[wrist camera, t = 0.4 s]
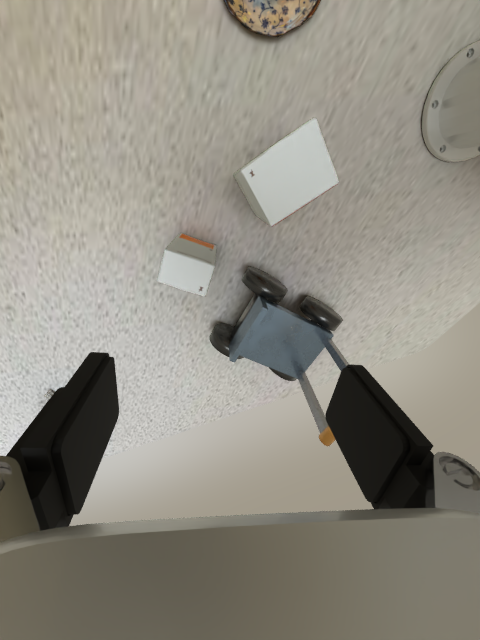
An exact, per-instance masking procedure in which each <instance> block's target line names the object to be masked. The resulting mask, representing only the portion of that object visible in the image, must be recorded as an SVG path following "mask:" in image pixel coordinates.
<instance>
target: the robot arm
mask: <svg viewBox="0 0 480 640" xmlns="http://www.w3.org/2000/svg"><path fill="white" fill-rule="evenodd" d="M422 132H423V138H424V141H425V144H426V146H427V148H428V149H429V151H430V152H431V153H432V154H433V155H434V156H435V157H436V158H438V159H440V160H442V161H447V162H459V161H466V160H469V159H472V158H475V157H477V156H479V155H480V40H478V41H476V42H474V43H472V44H470V45H469V46H467V47H466V48H464V49H462V50H461V51H460V52H458V53H457V54H456V55H455V56H454V57H453V58H451V60H450V61H449V62H448V63H447V64H446V65H445V66H444V68H443V69H442V70H441V72H440V73H439V75H438V76H437V78H436V79H435V81H434V83H433V85H432V87H431V89H430V91H429V93H428V96H427V99H426V102H425V106H424V110H423V115H422ZM118 415H119V405H118V394H117V384H116V373H115V363H114V358H113V357H109V354H108V353H98V352H91V353H90V354H89V355H88V356H87V357H86V359H85V360H84V362H83V363H82V364H81V366H80V367H79V368H78V370H77V371H76V372H75V374H74V375H73V376H72V378H71V379H70V381H69V382H68V383H67V385H66V386H65V387H61V388H59V389H57V391H56V392H55V393H54V394H53V395H52V397H51V398H50V399H49V401H48V402H47V403H46V404H45V406H44V407H43V408H42V410H41V411H40V412H39V414H38V415H37V416H36V418H35V419H34V420H33V421H32V423H31V424H30V425H29V427H28V428H27V429H26V431H25V432H24V433H23V435H22V436H21V437H20V438H19V440H18V441H17V442H16V444H15V445H14V446H13V448H12V449H11V450H10V452H9V453H8V454H7V455H6V456H0V640H480V472H479V471H477V470H476V469H475V468H474V467H473V466H472V465H471V464H469V463H468V462H467V461H465V460H463V459H461V458H460V457H458V456H456V455H453V454H451V453H446V452H438V453H436V454H435V455H433V453H432V452H431V451H430V450H431V448H432V447H433V445H432V444H431V443H430V441H429V440H428V439H427V438H426V437H425V436H424V435H423V434H422V432H421V431H420V430H419V429H418V428H417V427H416V426H415V424H414V423H413V422H412V421H411V420H410V419H409V418H408V417H407V415H406V414H405V413H404V412H403V411H402V410H401V408H400V407H399V406H398V405H397V404H396V403H395V402H394V401H393V399H392V398H391V397H390V396H389V395H388V394H387V393H386V391H385V390H384V389H383V388H382V387H381V386H380V385H379V383H378V382H377V381H376V380H375V379H374V378H373V377H372V376H371V374H370V373H369V372H368V371H367V370H366V369H365V368H364V367H363V366H362V365H347V366H346V368H343V369H342V371H341V374H340V377H339V379H338V382H337V385H336V388H335V390H334V393H333V396H332V398H331V401H330V403H329V406H328V409H327V411H326V421H327V424H328V426H329V428H330V430H331V431H332V433H333V435H334V437H335V439H336V441H337V443H338V445H339V447H340V449H341V451H342V453H343V455H344V457H345V459H346V461H347V463H348V465H349V467H350V468H351V471H352V473H353V475H354V477H355V479H356V480H357V482H358V485H359V486H360V488H361V490H362V492H363V494H364V496H365V498H366V499H367V501H369V502H371V504H372V506H373V508H374V509H370V510H345V511H320V512H298V513H278V514H277V513H276V514H255V515H234V516H215V517H196V518H177V519H158V520H141V521H126V522H113V523H98V524H86V525H77V526H69V524H70V522H71V519H72V517H73V515H74V514H79V513H80V511H81V509H82V507H83V504H84V502H85V499H86V497H87V494H88V492H89V489H90V487H91V484H92V482H93V479H94V477H95V474H96V471H97V469H98V467H99V464H100V462H101V459H102V457H103V454H104V452H105V449H106V447H107V444H108V442H109V439H110V437H111V434H112V432H113V429H114V427H115V424H116V422H117V419H118Z"/></svg>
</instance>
